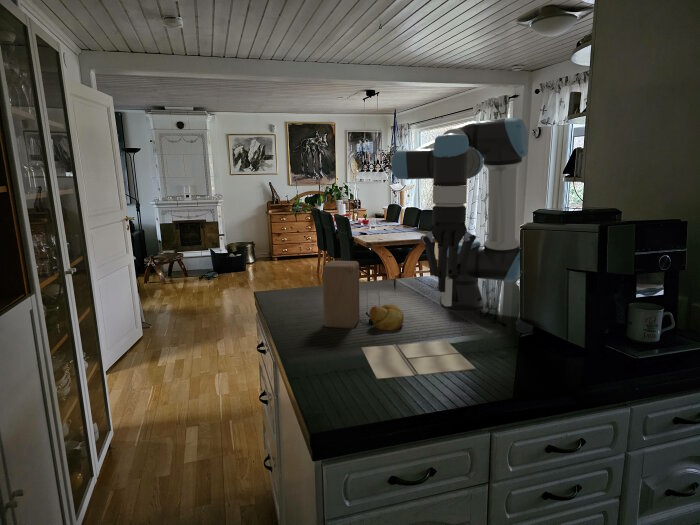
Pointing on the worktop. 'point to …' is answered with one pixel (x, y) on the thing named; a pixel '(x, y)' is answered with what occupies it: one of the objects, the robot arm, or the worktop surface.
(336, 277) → the wooden block
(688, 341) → the worktop surface
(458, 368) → the near plank
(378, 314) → the bread roll
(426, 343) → the far plank
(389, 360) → the laid board
